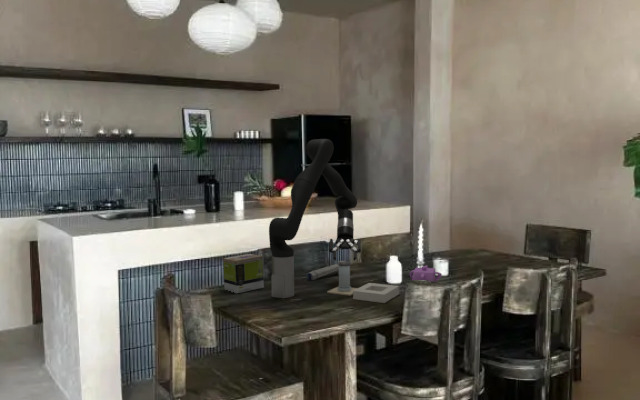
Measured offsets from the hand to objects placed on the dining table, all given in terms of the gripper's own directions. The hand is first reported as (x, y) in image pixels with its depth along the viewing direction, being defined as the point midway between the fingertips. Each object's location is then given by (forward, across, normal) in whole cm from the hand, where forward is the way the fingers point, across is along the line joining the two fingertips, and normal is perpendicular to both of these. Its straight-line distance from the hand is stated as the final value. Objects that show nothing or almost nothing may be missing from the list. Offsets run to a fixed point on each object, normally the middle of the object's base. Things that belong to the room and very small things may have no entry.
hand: (344, 259), depth 268 cm
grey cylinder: (-8, -9, +27) cm, 30 cm away
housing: (+19, +14, -1) cm, 23 cm away
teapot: (+9, +36, +10) cm, 38 cm away
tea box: (+11, -45, +8) cm, 47 cm away
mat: (+13, 0, +6) cm, 14 cm away
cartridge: (+12, 0, +5) cm, 14 cm away
